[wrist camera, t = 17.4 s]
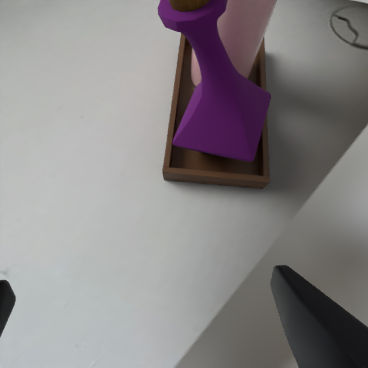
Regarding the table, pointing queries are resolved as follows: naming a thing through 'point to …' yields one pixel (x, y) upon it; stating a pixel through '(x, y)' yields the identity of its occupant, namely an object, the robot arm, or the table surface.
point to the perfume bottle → (215, 87)
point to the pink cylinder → (240, 34)
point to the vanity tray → (206, 163)
